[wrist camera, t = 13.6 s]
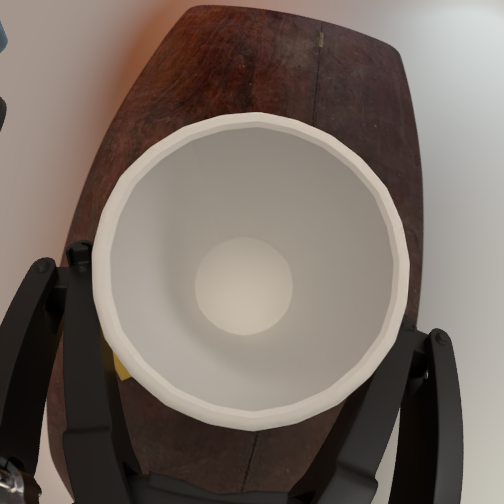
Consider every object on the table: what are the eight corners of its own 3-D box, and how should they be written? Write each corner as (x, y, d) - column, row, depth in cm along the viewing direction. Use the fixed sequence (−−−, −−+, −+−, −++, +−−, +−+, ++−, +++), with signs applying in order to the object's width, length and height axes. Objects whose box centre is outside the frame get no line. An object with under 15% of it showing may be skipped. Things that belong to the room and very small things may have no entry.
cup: (216, 377, 19) (190, 475, 6) (153, 259, 20) (55, 198, 7) (333, 311, 20) (451, 313, 7) (269, 199, 21) (308, 81, 9)
